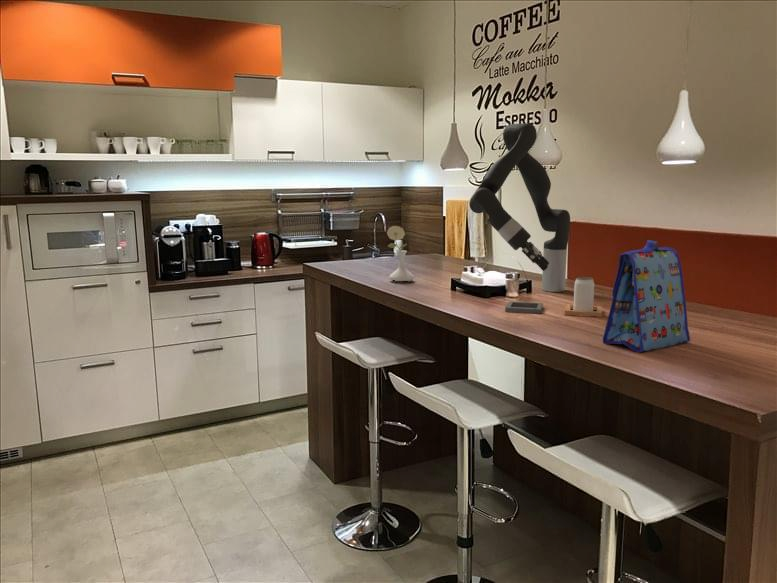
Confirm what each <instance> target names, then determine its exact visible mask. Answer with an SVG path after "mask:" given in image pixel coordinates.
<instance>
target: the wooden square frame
mask: <svg viewBox="0 0 777 583" xmlns="http://www.w3.org/2000/svg"><path fill="white" fill-rule="evenodd" d="M573 308H574V304H568V303H567V304H566V303H565V307H564V316H572V315H582V316H581V317H589V316H597V317H596V318H603V308H602V305H593V310H597V311H576V310H571V309H573Z"/></svg>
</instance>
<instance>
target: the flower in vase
mask: <svg viewBox="0 0 777 583" xmlns="http://www.w3.org/2000/svg"><path fill="white" fill-rule="evenodd" d="M386 234H387V236H388V238H389V239H390V240H393V241H395V243H394V242H390V243H389V244H387V248H390V249H391V248H392V249H394V248H396V247H397V248H398V250H396V251H395V252H396V253H397V256H398V268H397V269H395V270H394V271H393V272H392V273H390V275H389V276H388V279H389V280H390V279H391V280H390V281H392V280H396V281H408V282H412V281H413V280H414V279H415V277H414V275H413V274H412V273H411V272H410V271H409V270H408V269H407V268H406V266H405V258H406V257H405V256H406V254H407V253H408V250H404V249H403V248H404V247H406V246H407V245H408V243H405V244H402V245H400V246H399V245H398V244H397V241H400V240H403V239H404V237H405V236H406V232H405V230H404V228H403V227H401V226H400V225H398V226H397V225H392V226H390V227H389V228H388V229H387V232H386ZM401 249H403V250H401ZM411 280H412V281H411Z"/></svg>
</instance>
